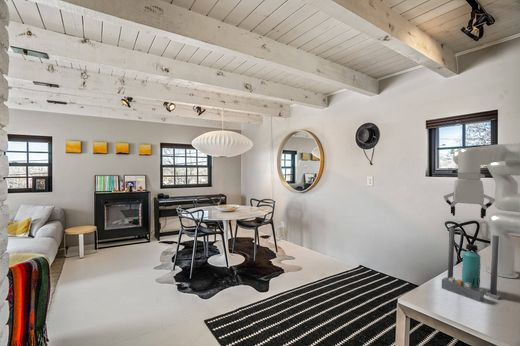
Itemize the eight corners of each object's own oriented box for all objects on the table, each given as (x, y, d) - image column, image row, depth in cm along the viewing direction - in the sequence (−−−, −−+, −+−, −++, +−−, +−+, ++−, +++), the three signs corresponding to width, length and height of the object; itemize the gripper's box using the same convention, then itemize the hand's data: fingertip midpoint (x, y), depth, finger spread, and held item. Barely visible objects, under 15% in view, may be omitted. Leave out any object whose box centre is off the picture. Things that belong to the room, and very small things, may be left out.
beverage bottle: (472, 292, 114) (474, 247, 113) (457, 286, 120) (459, 243, 119) (483, 291, 115) (485, 246, 115) (468, 284, 122) (469, 242, 121)
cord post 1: (447, 279, 127) (449, 226, 127) (456, 282, 124) (458, 228, 123) (443, 281, 125) (445, 227, 124) (453, 284, 122) (455, 229, 121)
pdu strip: (445, 285, 120) (446, 274, 120) (483, 299, 108) (484, 287, 108) (441, 287, 118) (441, 276, 118) (479, 301, 106) (480, 289, 106)
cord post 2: (488, 293, 114) (491, 234, 113) (500, 297, 110) (503, 236, 110) (485, 295, 111) (487, 235, 111) (497, 299, 108) (500, 237, 107)
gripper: (493, 177, 109) (492, 217, 110) (443, 176, 119) (442, 213, 120) (497, 178, 103) (496, 220, 104) (444, 176, 113) (443, 215, 113)
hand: (467, 216), depth 112 cm, fingers open, 9 cm apart
